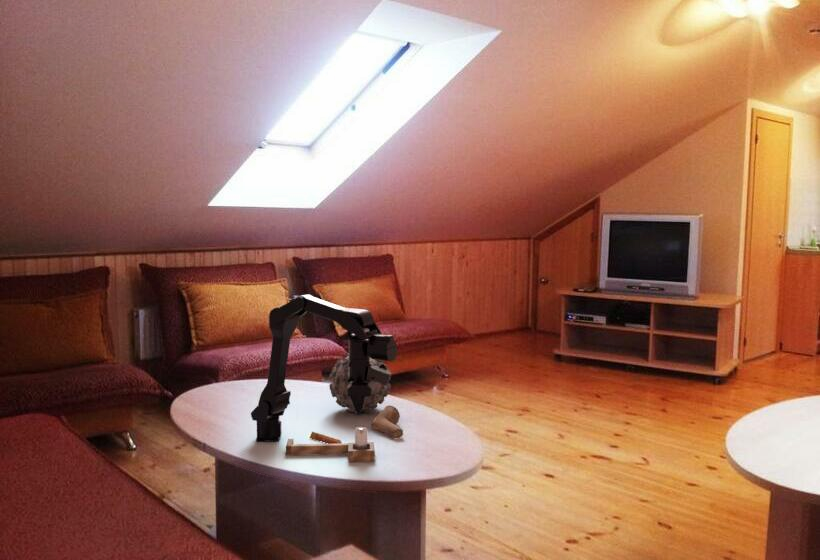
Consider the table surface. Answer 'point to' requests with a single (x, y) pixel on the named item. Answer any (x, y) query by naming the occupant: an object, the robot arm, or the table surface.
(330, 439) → the chocolate bar
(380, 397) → the ornament
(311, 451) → the dock
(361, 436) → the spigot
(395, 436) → the pipe
